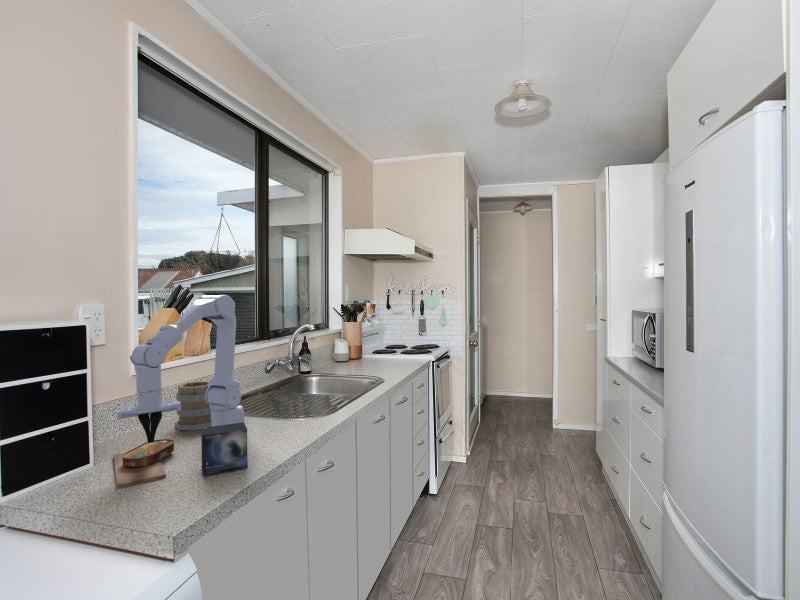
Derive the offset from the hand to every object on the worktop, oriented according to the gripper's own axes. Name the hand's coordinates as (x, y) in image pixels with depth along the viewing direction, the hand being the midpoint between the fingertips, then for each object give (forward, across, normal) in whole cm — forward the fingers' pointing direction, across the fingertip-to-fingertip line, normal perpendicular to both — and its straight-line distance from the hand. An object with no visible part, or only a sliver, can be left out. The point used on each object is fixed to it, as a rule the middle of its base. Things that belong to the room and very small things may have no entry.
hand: (150, 441), depth 117 cm
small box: (+6, -15, +15) cm, 22 cm away
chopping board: (+6, +3, 0) cm, 7 cm away
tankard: (+6, -20, -31) cm, 37 cm away
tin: (+4, -3, 0) cm, 5 cm away
